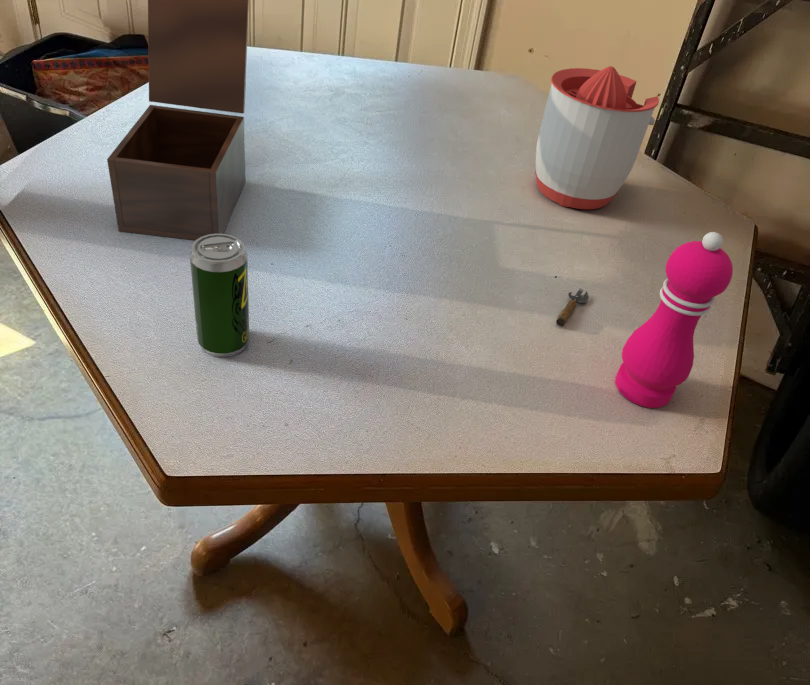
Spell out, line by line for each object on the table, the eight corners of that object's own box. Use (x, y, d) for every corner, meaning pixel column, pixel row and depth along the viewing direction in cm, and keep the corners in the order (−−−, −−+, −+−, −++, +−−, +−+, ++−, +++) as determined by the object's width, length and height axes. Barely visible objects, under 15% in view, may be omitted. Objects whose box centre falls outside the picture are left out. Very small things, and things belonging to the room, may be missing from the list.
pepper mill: (617, 407, 75) (689, 249, 62) (604, 362, 80) (668, 209, 68) (683, 415, 75) (768, 259, 62) (666, 370, 81) (741, 218, 68)
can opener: (562, 328, 84) (564, 321, 83) (545, 320, 85) (547, 312, 84) (592, 296, 90) (594, 289, 89) (575, 288, 91) (578, 281, 90)
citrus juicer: (649, 215, 110) (700, 88, 97) (551, 221, 104) (591, 87, 91) (599, 168, 120) (639, 48, 108) (508, 171, 115) (538, 45, 102)
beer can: (199, 361, 72) (190, 264, 65) (196, 328, 76) (187, 233, 69) (252, 356, 74) (250, 261, 66) (246, 324, 78) (244, 231, 70)
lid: (248, -31, 88) (250, -30, 89) (147, -45, 88) (149, -44, 88) (243, 113, 95) (244, 113, 96) (148, 101, 94) (150, 101, 95)
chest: (219, 243, 89) (215, 172, 83) (118, 231, 88) (106, 159, 82) (245, 181, 102) (244, 116, 96) (157, 171, 101) (150, 104, 95)
